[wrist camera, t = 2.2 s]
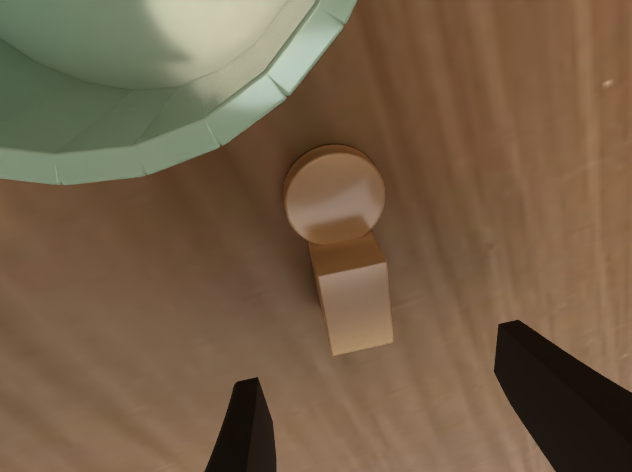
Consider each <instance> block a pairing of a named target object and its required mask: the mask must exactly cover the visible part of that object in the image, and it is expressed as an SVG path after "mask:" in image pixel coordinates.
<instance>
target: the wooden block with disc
mask: <svg viewBox="0 0 632 472" xmlns="http://www.w3.org/2000/svg"><path fill="white" fill-rule="evenodd" d="M385 198H386V191H385V185H384V181H383V179H382V177H381V174H380V173H379V171H378V170H377V168H376V167H375V166H374V165H373V163H372V162H371V161H370V160H369V159H368V157H367V156H365V155H364V154H363V153H362V152H360V151H358V150H356V149H354V148H352V147H349V146H345V145H325V146H321V147H318V148H315V149H313V150H311V151H309V152H307V153H306V154H304V155H303V156H301V157H300V158H299V159H298V160H297V161H296V162H295V163H294V164H293V166H292V167H291V169H290V170H289V172H288V174H287V176H286V178H285V182H284V186H283V201H284V207H285V212H286V216H287V219H288V221H289V223H290V225H291V226H292V228H293V229H294V230H295V231H296V232H297V233H298V234H299V235H300V236H301V237H303V238H304V239H306V240H308V244H309V249H310V255H311V260H312V265H313V270H314V275H315V280H316V286H317V291H318V296H319V301H320V306H321V311H322V315H323V319H324V324H325V328H326V332H327V336H328V340H329V345H330V349H331V353H332V355H333V356H335V355H340V354H344V353H349V352H353V351H358V350H362V349H367V348H371V347H376V346H380V345H385V344H389V343H393V342H394V339H393V327H392V314H391V302H390V289H389V277H388V264H387V260H386V258H385V256H384V255H383V253H382V251H381V249H380V247H379V245H378V243H377V241H376V240H375V238H374V236H373V234H372V232H371V229H372V228H373V227H374V225H375V224H376V223H377V221H378V220H379V218H380V216H381V214H382V211H383V208H384V205H385Z"/></svg>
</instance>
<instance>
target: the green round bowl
mask: <svg viewBox="0 0 632 472" xmlns="http://www.w3.org/2000/svg"><path fill="white" fill-rule="evenodd" d="M356 3H357V0H0V179H9V180H18V181H26V182H35V183H44V184H53V185H60V184H62V185H74V184H83V183H92V182H101V181H110V180H118V179H127V178H136V177H144V176H146V175H151V174H154V173H156V172H159V171H162V170H164V169H167V168H169V167H172V166H175V165H177V164H180V163H182V162H185V161H187V160H190V159H193V158H195V157H198V156H200V155H203V154H206V153H208V152H211V151H213V150H216V149H219V148H220V147H221V145H226V144H227V143H229V142H230V141H231V140H233V139H234V138H235V137H237V136H238V135H239V134H241V133H242V132H244V131H245V130H246V129H248V128H249V127H250V126H252V125H253V124H254V123H256V122H257V121H258V120H260V119H261V118H262V117H264V116H265V115H266V114H268V113H269V112H271V111H272V110H273V109H275V108H276V107H277V106H279V105H280V104H281V103H283V102H284V101H285V100H286V99H287V96H290V95H291V94H292V93H293V92H294V91H295V89H296V88H297V87H298V86H299V84H300V83H301V82H302V81H303V79H304V78H305V77H306V75H307V74H308V73H309V72H310V70H311V69H312V68H313V67H314V65H315V64H316V63H317V62H318V60H319V59H320V58H321V57H322V55H323V54H324V53H325V51H326V50H327V49H328V48H329V46H330V45H331V44H332V43H333V41H334V40H335V39H336V38H337V36H338V35H339V34H340V33H341V31H342V30H343V27H344V26H343V24H346V23H347V22H348V20H349V18H350V16H351V13H352V11H353V9H354V7H355V5H356Z"/></svg>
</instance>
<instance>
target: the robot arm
mask: <svg viewBox="0 0 632 472" xmlns="http://www.w3.org/2000/svg"><path fill="white" fill-rule="evenodd" d="M494 373H495V375H496V377H497V379H498V381H499V383H500V385H501V387H502V389H503V391H504V393H505V395H506V397H507V398H508V400H509V402H510V404H511V406H512V407H513V409H514V410H515V412H516V413H517V415H518V416H519V418H520V419H521V421H522V422H523V424H524V425H525V427H526V428H527V430H528V431H529V433H530V434H531V436H532V437H533V439H534V440H535V442H536V443H537V445H538V446H539V448H540V449H541V451H542V452H543V454H544V455H545V456H546V458H547V459H548V461H549V462H550V464H551V465H552V467H553V468H554V470H555V471H556V472H632V393H631V392H629V391H628V390H626V389H624V388H623V387H621V386H619V385H617V384H616V383H614V382H612V381H611V380H609V379H607V378H606V377H604V376H603V375H601V374H599V373H598V372H596V371H594V370H593V369H591V368H590V367H588V366H587V365H585V364H584V363H582V362H580V361H579V360H577V359H576V358H574V357H573V356H571V355H570V354H568V353H567V352H565V351H564V350H562V349H561V348H559V347H558V346H556V345H555V344H553V343H552V342H550V341H549V340H547V339H546V338H544V337H543V336H542V335H540V334H539V333H537V332H536V331H534V330H533V329H531V328H530V327H528V326H527V325H525V324H524V323H522V322H521V321H519V320H515V321H511V322H506V323H502V324H499V325H498V335H497V345H496V356H495V366H494ZM205 472H276V450H275V440H274V430H273V421H272V418H271V415H270V412H269V409H268V406H267V403H266V400H265V397H264V394H263V391H262V388H261V385H260V382H259V379H258V377H256V378H252V379H247V380H243V381H238V382H236V384H235V385H234V388H233V392H232V396H231V399H230V403H229V406H228V409H227V412H226V416H225V419H224V422H223V425H222V428H221V430H220V433H219V436H218V438H217V441H216V444H215V447H214V449H213V452H212V455H211V457H210V460H209V462H208V465H207V467H206V469H205Z"/></svg>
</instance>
